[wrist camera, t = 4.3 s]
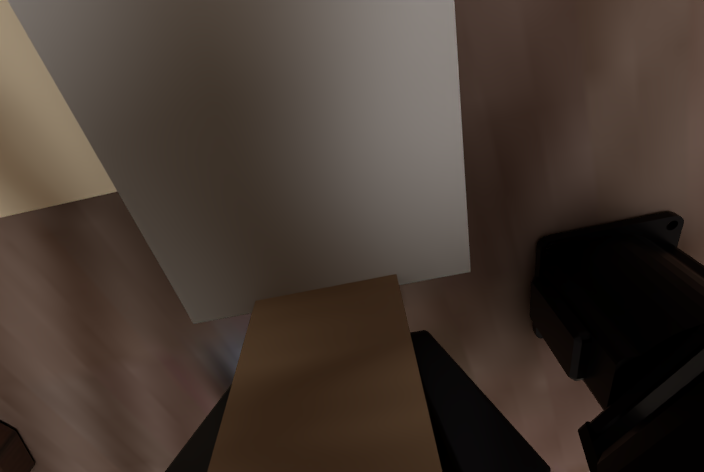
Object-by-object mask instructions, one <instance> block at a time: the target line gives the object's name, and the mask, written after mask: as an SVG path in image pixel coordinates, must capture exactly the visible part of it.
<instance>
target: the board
mask: <svg viewBox="0 0 704 472" xmlns="http://www.w3.org/2000/svg"><path fill="white" fill-rule="evenodd" d="M114 192H117V190H116V188H115V186H114V185H113V183H112V181H111V179H110V178H109V176H108V174H107V172H106V171H105V169H104V167H103V165H102V164H101V162H100V160H99V159H98V157H97V155H96V153H95V152H94V150H93V148H92V146H91V145H90V143H89V141H88V139H87V138H86V136H85V134H84V132H83V131H82V129H81V127H80V125H79V124H78V122H77V120H76V119H75V117H74V115H73V113H72V112H71V110H70V108H69V106H68V105H67V103H66V101H65V99H64V98H63V96H62V94H61V92H60V91H59V89H58V87H57V86H56V84H55V82H54V80H53V79H52V77H51V75H50V73H49V72H48V70H47V68H46V66H45V65H44V63H43V61H42V59H41V58H40V56H39V54H38V53H37V51H36V49H35V47H34V46H33V44H32V42H31V40H30V39H29V37H28V35H27V33H26V32H25V30H24V28H23V26H22V25H21V23H20V21H19V20H18V18H17V16H16V14H15V13H14V11H13V9H12V7H11V6H10V4H9V2H8V0H0V218H1V217H5V216H10V215H14V214H19V213H23V212H28V211H32V210H37V209H41V208H46V207H50V206H55V205H59V204H64V203H68V202H73V201H77V200H82V199H87V198H91V197H96V196H100V195H105V194H109V193H114Z"/></svg>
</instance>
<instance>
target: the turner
mask: <svg viewBox="0 0 704 472" xmlns="http://www.w3.org/2000/svg"><path fill="white" fill-rule="evenodd" d="M8 2H9V4H10V6H11V7H12V9H13V11H14V13H15V14H16V16H17V18H18V20H19V21H20V23H21V25H22V26H23V28H24V30H25V32H26V33H27V35H28V37H29V39H30V40H31V42H32V44H33V46H34V47H35V49H36V51H37V53H38V54H39V56H40V58H41V59H42V61H43V63H44V65H45V66H46V68H47V70H48V72H49V73H50V75H51V77H52V79H53V80H54V82H55V84H56V86H57V87H58V89H59V91H60V92H61V94H62V96H63V98H64V99H65V101H66V103H67V105H68V106H69V108H70V110H71V112H72V113H73V115H74V117H75V119H76V120H77V122H78V124H79V125H80V127H81V129H82V131H83V132H84V134H85V136H86V138H87V139H88V141H89V143H90V145H91V146H92V148H93V150H94V152H95V153H96V155H97V157H98V159H99V160H100V162H101V164H102V165H103V167H104V169H105V171H106V172H107V174H108V176H109V178H110V179H111V181H112V183H113V185H114V186H115V188H116V190H117V192H118V193H119V195H120V197H121V198H122V200H123V202H124V204H125V205H126V207H127V209H128V211H129V212H130V214H131V216H132V218H133V219H134V221H135V223H136V225H137V226H138V228H139V230H140V231H141V233H142V235H143V237H144V238H145V240H146V242H147V244H148V245H149V247H150V249H151V251H152V252H153V254H154V256H155V258H156V259H157V261H158V263H159V264H160V266H161V268H162V270H163V271H164V273H165V275H166V277H167V278H168V280H169V282H170V284H171V285H172V287H173V289H174V291H175V292H176V294H177V296H178V298H179V299H180V301H181V303H182V304H183V306H184V308H185V310H186V311H187V313H188V315H189V317H190V318H191V320H192V322H193V324H196V323H201V322H207V321H212V320H217V319H223V318H228V317H233V316H239V315H244V314H249V313H252V315H251V318H250V322H249V325H248V329H247V333H246V336H245V340H244V343H243V347H242V350H241V354H240V357H239V361H238V365H237V368H236V372H235V375H234V379H233V382H232V386H231V389H230V393H229V397H228V400H227V404H226V407H225V411H224V414H223V418H222V421H221V425H220V429H219V432H218V436H217V439H216V443H215V446H214V450H213V453H212V457H211V461H210V464H209V468H208V471H207V472H442V468H441V464H440V459H439V455H438V451H437V447H436V442H435V438H434V434H433V429H432V425H431V421H430V416H429V412H428V408H427V404H426V399H425V395H424V391H423V386H422V382H421V378H420V373H419V369H418V365H417V360H416V356H415V352H414V348H413V343H412V339H411V335H410V330H409V326H408V322H407V317H406V313H405V309H404V305H403V300H402V296H401V292H400V287H399V285H403V284H408V283H414V282H419V281H424V280H430V279H435V278H440V277H446V276H451V275H456V274H461V273H467V272H471V269H470V253H469V236H468V219H467V203H466V186H465V170H464V153H463V137H462V120H461V104H460V87H459V71H458V54H457V38H456V21H455V5H454V0H8Z"/></svg>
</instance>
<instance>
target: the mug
mask: <svg viewBox="0 0 704 472" xmlns="http://www.w3.org/2000/svg"><path fill="white" fill-rule="evenodd" d="M34 465H35V463H34V462H33V460H32V458H31V456H30V455H29V453H28V451H27V450H26V448H25V446H24V444H23V443H22V441H21V439H20V437H19V436H18V434H17V432H16V431H15V430H13V429H11V428H9V427H7V426H5V425H4V424H2V423H0V472H30V471H31V469H32V468H33V466H34Z"/></svg>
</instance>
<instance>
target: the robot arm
mask: <svg viewBox="0 0 704 472" xmlns="http://www.w3.org/2000/svg"><path fill="white" fill-rule="evenodd" d="M668 223H669V224H668ZM683 223H684V220H683V218H682V217H681V216H679V215H677V214H676V213H673V212H666V213H661V214H656V215H650V216H645V217H640V218H635V219H630V220H625V221H620V222H615V223H610V224H605V225H600V226H595V227H590V228H584V229H579V230H574V231H569V232H564V233H559V234H554V235H549V236H546V237H543V238H542V239H540V241H539V242H538V243H537V249H536V269H535V277H534V278H533V280H532V282H531V298H530V318H531V320H532V321H533V331H534V333H535V334H536V336H537V337H538V338H544V340H545V341H546V343H547V344H548V346H549V348H550V349H551V351H552V352H553V354H554V355H555V357H556V358H557V360H558V361H559V363H560V365H561V366H562V368H563V369H564V371H565V372H566V374H567V375H568V377H570V378H571V379H573V380H575V381H578V380H583V381H584V382H585V384H586V385H587V387H588V388H589V390H590V391H591V392H592V394H593V395H594V397H595V398H596V400H597V401H598V403H599V404H600V406H601V407H602V409H603V410H604V411H602V412H601V413H600V414H599V415H598V416H597V417H596V418H594V419H593V420H592V421H591V422H586V423H585V424H584V425H583V426H581V427H580V428H579V429H578V433H579V436H580V440H581V443H582V446H583V450H584V453H585V456H586V460H587V463H588V466H589V470H590V472H704V266H703V265H702V264H701V263H699V262H698V261H696V260H695V259H693V258H692V257H690V256H689V255H687V254H686V253H684V252H683V251H681V250H680V249H679V248H677V245H678V241H679V238H680V234H681V231H682V227H683ZM551 244H552V246H551V247H550V248H548V249H546V248H547V247H548V246H549V245H551ZM410 335H411V339H412V343H413V348H414V352H415V356H416V360H417V365H418V369H419V373H420V378H421V382H422V386H423V391H424V395H425V399H426V404H427V408H428V412H429V416H430V421H431V425H432V429H433V434H434V438H435V442H436V447H437V451H438V455H439V459H440V464H441V468H442V472H550V467H549V466H548V465H547V463H546V462H545V461H544V460H543V459H542V458H541V457H540V456H539V455H538V453H537V452H536V451H535V450H534V449H533V448H532V447H531V446H530V445H529V443H528V442H527V441H526V440H525V439H524V438H523V437H522V436H521V434H520V433H519V432H518V431H517V430H516V429H515V428H514V427H513V426H512V424H511V423H510V422H509V421H508V420H507V419H506V418H505V417H504V416H503V414H502V413H501V412H500V411H499V410H498V409H497V408H496V407H495V405H494V404H493V403H492V402H491V401H490V400H489V399H488V398H487V397H486V395H485V394H484V393H483V392H482V391H481V390H480V389H479V388H478V387H477V385H476V384H475V383H474V382H473V381H472V380H471V379H470V378H469V377H468V375H467V374H466V373H465V372H464V371H463V370H462V369H461V368H460V366H459V365H458V364H457V363H456V362H455V361H454V360H453V359H452V358H451V356H450V355H449V354H448V353H447V352H446V351H445V350H444V349H443V348H442V346H441V345H440V344H439V343H438V342H437V341H436V340H435V339H434V338H433V336H432V335H431V334H430V333H429V332H428V331H426V330H422V331H417V332H411V333H410ZM231 386H232V384H231V385H230V387H229V388H228V389H227V391H226V392H225V393H224V395H223V396H222V397H221V399H220V400H219V401H218V403H217V404H216V405H215V406H214V408H213V409H212V410H211V412H210V413H209V414H208V416H207V417H206V418H205V420H204V421H203V422H202V424H201V425H200V426H199V427H198V429H197V430H196V431H195V433H194V434H193V435H192V437H191V438H190V439H189V441H188V442H187V443H186V445H185V446H184V447H183V448H182V450H181V451H180V452H179V454H178V455H177V456H176V458H175V459H174V460H173V462H172V463H171V464H170V466H169V467H168V468H167V470H166V471H165V472H207V471H208V468H209V464H210V461H211V457H212V453H213V450H214V446H215V443H216V439H217V436H218V432H219V429H220V425H221V421H222V418H223V414H224V411H225V407H226V404H227V400H228V397H229V393H230V389H231Z"/></svg>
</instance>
